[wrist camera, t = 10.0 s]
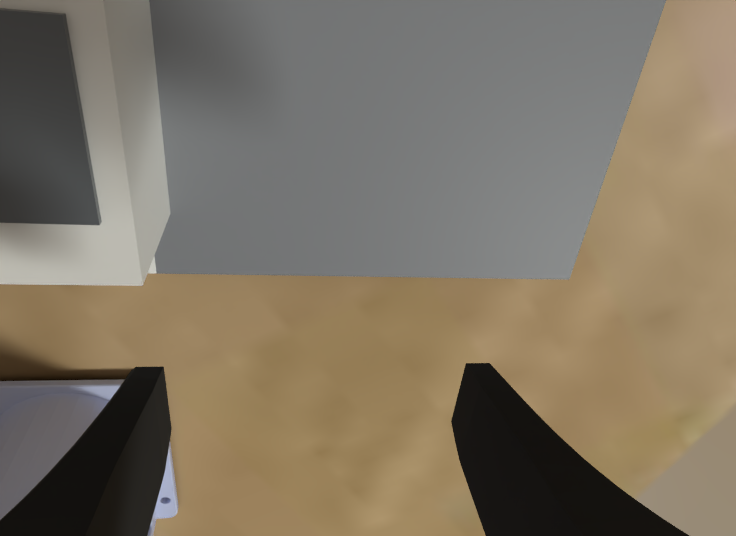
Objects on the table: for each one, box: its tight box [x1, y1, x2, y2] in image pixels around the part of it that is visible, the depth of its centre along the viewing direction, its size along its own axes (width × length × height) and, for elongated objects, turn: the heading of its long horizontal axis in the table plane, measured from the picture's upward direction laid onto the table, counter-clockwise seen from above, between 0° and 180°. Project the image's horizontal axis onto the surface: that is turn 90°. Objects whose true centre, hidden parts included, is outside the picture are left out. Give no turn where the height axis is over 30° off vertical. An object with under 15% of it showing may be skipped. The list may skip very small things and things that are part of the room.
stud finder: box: [0, 0, 170, 286], centre depth 15 cm, size 9×4×5 cm, turn 174°
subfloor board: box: [148, 0, 666, 279], centre depth 18 cm, size 14×26×1 cm, turn 84°
